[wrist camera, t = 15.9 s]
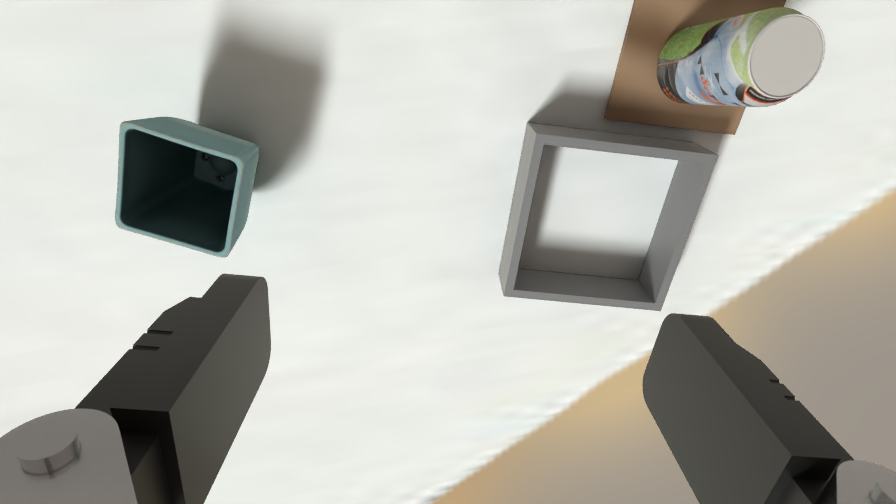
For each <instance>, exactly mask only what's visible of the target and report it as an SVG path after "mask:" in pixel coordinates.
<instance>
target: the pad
mask: <svg viewBox="0 0 896 504" xmlns="http://www.w3.org/2000/svg"><path fill="white" fill-rule="evenodd" d="M785 1H786V0H634V3H633V7H632V11H631V15H630V19H629V23H628V27H627V31H626V34H625V38H624V42H623V46H622V50H621V54H620V58H619V62H618V65H617V69H616V73H615V77H614V81H613V85H612V89H611V93H610V97H609V100H608V104H607V108H606V112H605V116H604V118H605V119H609V120H618V121H626V122H634V123H642V124H650V125H659V126H667V127H675V128H683V129H692V130H700V131H708V132H716V133H724V134H733V135H735V133H736V130H737V128H738V125H739V123H740V120H741V117H742V115H743V112H744V109H745V106H722V105H698V104H682V103H678V102H675V101H673V100H671V99H669V98H668V97H667V96H666V95H665V94H664V93H663V91H662V90H661V88H660V86H659V83H658V79H657V62H658V58H659V55H660V53H661V51H662V49H663V47H664V46H665V44H666V43H667V42H668V40H669V39H670V38H671V37H672V36H673V35H675V34H676V33H678V32H679V31H681V30H683V29H685V28H688V27H692V26H696V25H701V24H705V23H709V22H714V21H718V20H722V19H727V18H731V17H735V16H740V15H744V14H748V13H753V12H757V11H761V10H766V9H770V8H777V7H784V4H785Z"/></svg>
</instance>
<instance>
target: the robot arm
mask: <svg viewBox="0 0 896 504" xmlns="http://www.w3.org/2000/svg"><path fill="white" fill-rule="evenodd" d="M270 351H271V337H270V319H269V302H268V287H267V282H266V280H265V278H264V277H256V276H244V275H233V274H222V275H220V276H219V278H218V279H217V280H216V281H215V282H214V283H213V285H212V286H211V287H210V288H209V289H208V291H207V292H206V293H205V294H204V295H203V297H202V298H196V297H189V298H187V299H185V300H184V301H182V302H180V303H178V304H176V305H175V306H173V307H171V308H169V309H168V310H166V311H164V312H163V313H162V314H161V315H160V317H159V318H158V319H157V320H156V321H155V322H154V323H153V324H152V325H151V326H150V327H149V328H148V331H147V333H144V334H143V335H142V336H141V337H140V338H139V339H138V340H137V341H136V343H135V344H134V345H133V349H129V350H128V351H127V352H126V353H125V354H124V356H123V357H122V358H121V359H120V360H119V361H118V362H117V363H116V364H115V365H114V366H113V367H112V369H111V370H110V371H109V372H108V373H107V374H106V375H105V376H104V377H103V378H102V379H101V380H100V382H99V383H98V384H97V385H96V386H95V387H94V388H93V389H92V390H91V391H90V392H89V393H88V395H87V396H86V397H85V398H84V399H83V400H82V401H81V402H80V403H79V404H78V405H77V406H76V408H75V409H69V410H63V411H58V412H54V413H50V414H47V415H44V416H41V417H38V418H35V419H33V420H31V421H29V422H26V423H24V424H22V425H20V426H18V427H17V428H15V429H13V430H11V431H10V432H8V433H7V434H5V435H4V436H2V437H1V438H0V504H204V502H205V499H206V497H207V495H208V493H209V491H210V489H211V487H212V485H213V483H214V481H215V479H216V477H217V474H218V472H219V470H220V468H221V466H222V464H223V462H224V460H225V458H226V456H227V454H228V451H229V449H230V447H231V445H232V443H233V441H234V439H235V437H236V435H237V433H238V431H239V428H240V426H241V424H242V422H243V420H244V418H245V416H246V414H247V412H248V410H249V408H250V406H251V403H252V401H253V399H254V397H255V395H256V393H257V391H258V389H259V387H260V385H261V383H262V380H263V378H264V376H265V374H266V371H267V368H268V364H269V359H270ZM643 394H644V399H645V402H646V404H647V406H648V408H649V410H650V412H651V414H652V416H653V418H654V419H655V421H656V423H657V425H658V427H659V429H660V431H661V433H662V434H663V436H664V438H665V440H666V442H667V444H668V446H669V447H670V449H671V451H672V453H673V455H674V457H675V459H676V460H677V462H678V464H679V466H680V468H681V470H682V472H683V473H684V475H685V477H686V479H687V481H688V483H689V485H690V487H691V488H692V490H693V492H694V494H695V496H696V498H697V500H698V501H699V503H700V504H896V472H895V471H893V470H891V469H888V468H886V467H884V466H881V465H877V464H875V463H870V462H866V461H859V460H854V459H853V458H852V457H851V456H850V455H849V454H848V453H847V452H846V451H845V449H844V448H843V447H842V446H841V445H840V444H839V443H838V442H837V441H836V440H835V439H834V438H833V437H832V436H831V435H830V433H829V432H828V431H827V430H826V429H825V428H824V427H823V426H822V425H821V424H820V423H819V422H818V421H817V420H816V419H815V417H813V415H812V414H811V413H810V412H809V411H808V410H807V409H806V408H805V407H804V406H803V405H802V404H801V403H800V401H795V398H794V397H795V396H794V395H793V394H792V393H791V392H790V391H789V390H788V389H787V388H786V387H785V386H784V384H780V383H779V379H778V378H777V377H776V376H775V375H774V374H773V373H772V372H771V371H770V370H769V368H768V367H767V366H766V365H765V364H764V363H763V362H762V361H761V360H760V359H758V358H757V357H755V356H754V355H752V354H751V353H749V352H748V351H746V350H745V349H744V348H742V347H741V346H739V345H738V344H736V343H735V342H734V341H733V340H732V339H731V337H729V335H728V334H727V333H726V332H725V331H724V330H723V329H722V328H721V326H720V325H719V324H718V323H717V322H716V321H715V320H714V319H713V318H711V317H708V316H698V315H686V314H675V313H673V314H669V315H668V316H667V317H666V318H665V319H664V321H663V323H662V326H661V328H660V331H659V334H658V337H657V339H656V342H655V345H654V348H653V350H652V353H651V356H650V359H649V362H648V364H647V367H646V370H645V373H644V377H643Z"/></svg>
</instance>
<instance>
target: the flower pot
mask: <svg viewBox="0 0 896 504" xmlns="http://www.w3.org/2000/svg"><path fill="white" fill-rule="evenodd" d="M259 153H260V148H259V146H258V145H257V144H255V143H253V142H250V141H246V140H243V139H240V138H237V137H234V136H231V135H228V134H225V133H222V132H219V131H216V130H213V129H210V128H207V127H204V126H201V125H198V124H195V123H192V122H189V121H186V120H183V119H178V118H173V117H156V118H148V119H139V120H132V121H125V122H122V123H121V125H120V134H119V162H118V164H119V165H118V184H117V199H116V211H115V221H116V224H117V226H118V227H119V228H122V229H124V230H127V231H131V232H135V233H138V234H142V235H145V236H149V237H152V238H156V239H159V240H163V241H167V242H170V243H173V244H177V245H180V246H184V247H187V248H190V249H193V250H197V251H201V252H204V253H207V254H210V255H214V256H217V257H227V256H228V255H229V253H230V251H231V250H232V248H233V246H234V245H235V243H236V241H237V239H238V238H239V236H240V234H241V232H242V230H243V229H244V226H245V224H246V221H247V217H248V212H249V206H250V201H251V195H252V190H253V184H254V179H255V174H256V168H257V163H258V158H259ZM203 154H207V155H208V157H209V158H208V159H205V158H204V157H203ZM219 176H223V177H224V180H220V179H219Z"/></svg>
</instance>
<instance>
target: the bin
mask: <svg viewBox="0 0 896 504" xmlns="http://www.w3.org/2000/svg"><path fill="white" fill-rule="evenodd" d="M544 145H553V146H561V147H570V148H578V149H587V150H596V151H604V152H613V153H621V154H630V155H638V156H647V157H655V158H664V159H673V160H679V161H678V164H677V166H676V169H675V172H674V175H673V178H672V181H671V184H670V187H669V190H668V193H667V196H666V199H665V202H664V205H663V208H662V211H661V214H660V217H659V220H658V223H657V226H656V229H655V232H654V235H653V238H652V241H651V244H650V247H649V250H648V253H647V256H646V259H645V262H644V265H643V267H642V270H641V273H640V276H639V279H638V280H630V279H619V278H609V277H599V276H589V275H579V274H569V273H558V272H548V271H538V270H528V269H518V266H519V261H520V256H521V251H522V247H523V242H524V237H525V232H526V227H527V223H528V218H529V213H530V208H531V203H532V199H533V194H534V189H535V184H536V179H537V175H538V170H539V165H540V160H541V155H542V151H543V146H544ZM717 158H718V155H717V154H715V153H713V152H711V151H709V150H707V149H705V148H704V147H702V146H700V145H698V144H696V143H694V142H687V141H679V140H670V139H662V138H654V137H645V136H637V135H629V134H620V133H612V132H604V131H595V130H587V129H579V128H570V127H562V126H554V125H545V124H537V123H529V122H527V126H526V131H525V136H524V142H523V147H522V152H521V158H520V163H519V168H518V173H517V179H516V184H515V189H514V194H513V200H512V205H511V210H510V216H509V221H508V226H507V231H506V237H505V242H504V247H503V252H502V258H501V263H500V268H499V278H500V282H501V286H502V291H503V295H504V296H507V297H517V298H528V299H539V300H549V301H560V302H571V303H581V304H592V305H602V306H613V307H624V308H634V309H645V310H655V311H661V309H662V306H663V303H664V301H665V298H666V295H667V292H668V290H669V287H670V284H671V282H672V279H673V276H674V274H675V271H676V268H677V266H678V263H679V260H680V258H681V255H682V252H683V249H684V247H685V244H686V241H687V239H688V236H689V233H690V231H691V228H692V225H693V223H694V220H695V217H696V215H697V212H698V209H699V206H700V204H701V201H702V198H703V196H704V193H705V190H706V188H707V185H708V182H709V180H710V177H711V174H712V171H713V169H714V166H715V163H716V161H717Z"/></svg>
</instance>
